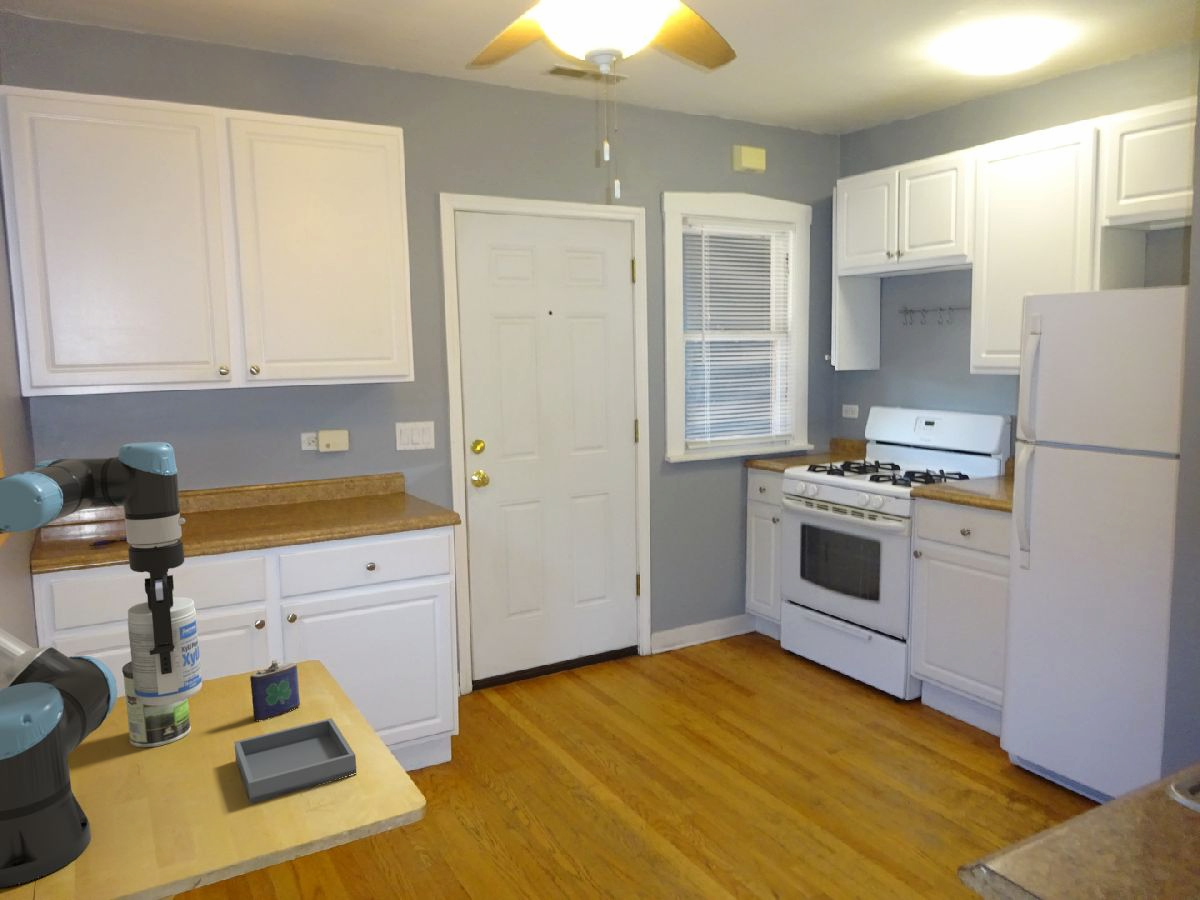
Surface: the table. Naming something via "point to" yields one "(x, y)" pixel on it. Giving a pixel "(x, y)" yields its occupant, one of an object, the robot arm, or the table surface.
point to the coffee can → (154, 717)
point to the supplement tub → (144, 642)
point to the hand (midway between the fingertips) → (168, 680)
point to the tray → (293, 759)
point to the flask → (275, 690)
